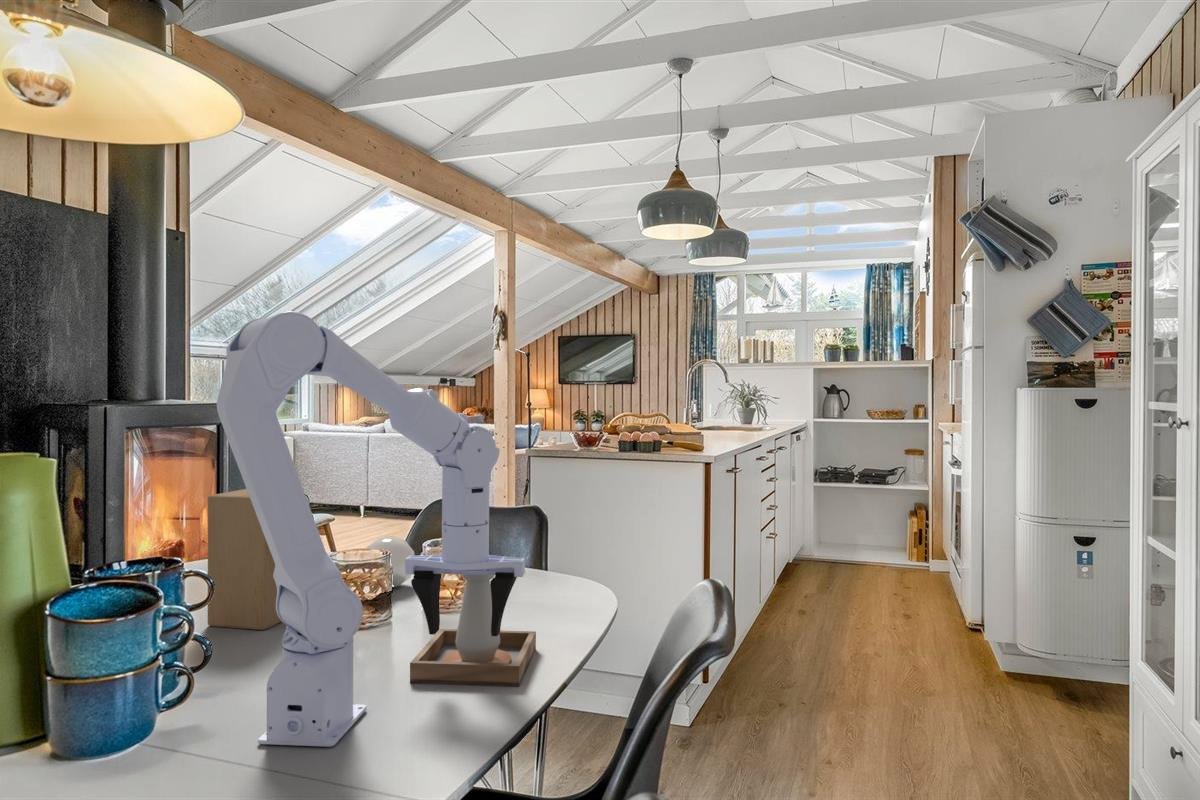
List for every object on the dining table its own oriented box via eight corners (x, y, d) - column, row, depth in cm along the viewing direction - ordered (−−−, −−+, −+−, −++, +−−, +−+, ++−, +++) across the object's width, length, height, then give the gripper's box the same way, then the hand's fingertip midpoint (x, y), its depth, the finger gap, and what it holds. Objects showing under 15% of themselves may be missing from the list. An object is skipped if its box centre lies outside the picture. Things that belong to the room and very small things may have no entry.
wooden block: (303, 612, 124) (304, 489, 124) (264, 631, 114) (264, 497, 114) (249, 608, 126) (249, 487, 126) (206, 626, 116) (206, 495, 116)
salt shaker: (494, 667, 97) (495, 566, 97) (450, 666, 98) (451, 565, 98) (503, 652, 103) (504, 556, 103) (461, 651, 104) (462, 555, 103)
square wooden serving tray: (519, 686, 93) (519, 666, 93) (409, 682, 94) (410, 662, 94) (535, 649, 107) (535, 631, 107) (440, 646, 108) (440, 628, 108)
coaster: (504, 674, 96) (504, 672, 96) (433, 672, 96) (433, 670, 96) (516, 650, 105) (516, 648, 105) (451, 648, 105) (452, 646, 105)
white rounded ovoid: (404, 587, 146) (378, 619, 131) (362, 557, 146) (331, 586, 131) (431, 549, 145) (407, 578, 130) (389, 519, 144) (360, 544, 129)
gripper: (529, 518, 97) (528, 624, 98) (417, 516, 98) (416, 621, 98) (519, 528, 90) (519, 642, 90) (399, 525, 91) (399, 639, 91)
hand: (464, 632), depth 94 cm, fingers open, 7 cm apart
